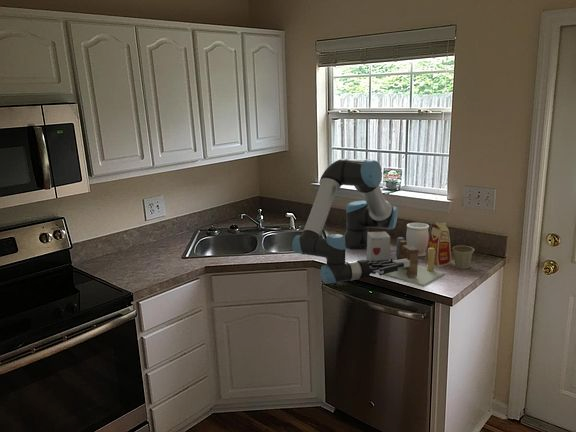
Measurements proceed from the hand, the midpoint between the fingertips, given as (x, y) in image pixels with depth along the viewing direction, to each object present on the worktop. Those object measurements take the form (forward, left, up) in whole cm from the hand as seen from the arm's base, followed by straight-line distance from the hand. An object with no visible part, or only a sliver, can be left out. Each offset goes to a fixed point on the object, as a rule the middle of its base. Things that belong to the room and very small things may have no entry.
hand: (408, 262), depth 203 cm
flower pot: (+17, +26, -8) cm, 32 cm away
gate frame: (0, +7, -8) cm, 10 cm away
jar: (-6, +34, -8) cm, 35 cm away
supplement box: (-18, +12, -8) cm, 23 cm away
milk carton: (+6, +27, -8) cm, 29 cm away
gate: (-2, +6, -6) cm, 9 cm away
